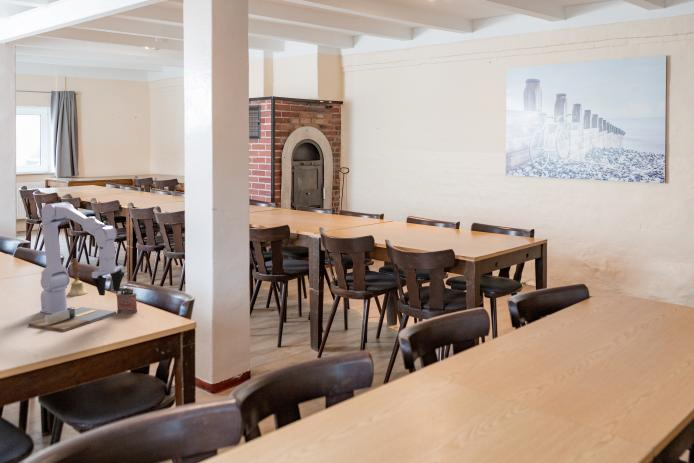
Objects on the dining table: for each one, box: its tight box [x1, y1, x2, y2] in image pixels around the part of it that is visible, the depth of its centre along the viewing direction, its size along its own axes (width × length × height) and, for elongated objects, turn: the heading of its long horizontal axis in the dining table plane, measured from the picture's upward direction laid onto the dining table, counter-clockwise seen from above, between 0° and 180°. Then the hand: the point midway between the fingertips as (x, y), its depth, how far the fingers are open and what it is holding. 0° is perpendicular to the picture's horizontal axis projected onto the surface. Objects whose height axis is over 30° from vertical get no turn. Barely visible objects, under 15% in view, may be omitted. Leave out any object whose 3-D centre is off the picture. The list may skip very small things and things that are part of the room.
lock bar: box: [44, 306, 76, 325], centre depth 257 cm, size 13×3×3 cm, turn 155°
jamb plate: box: [27, 318, 90, 333], centre depth 256 cm, size 18×12×1 cm, turn 65°
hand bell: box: [67, 258, 88, 297], centre depth 305 cm, size 8×8×16 cm
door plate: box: [73, 306, 117, 324], centre depth 268 cm, size 18×14×1 cm
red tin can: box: [115, 286, 138, 314], centre depth 273 cm, size 8×3×10 cm, turn 84°
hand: (109, 292), depth 263 cm, fingers open, 7 cm apart
